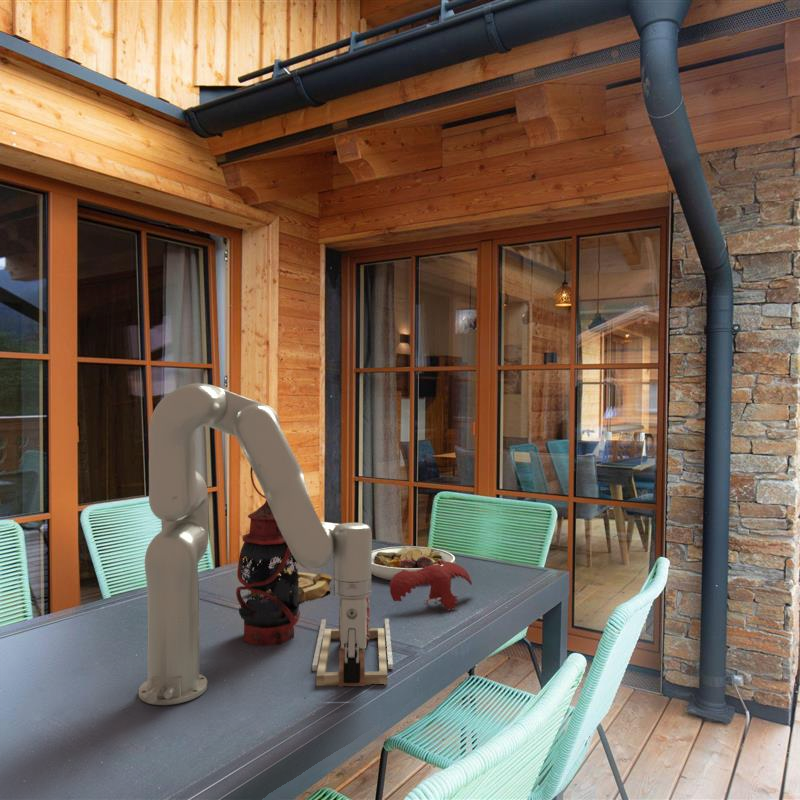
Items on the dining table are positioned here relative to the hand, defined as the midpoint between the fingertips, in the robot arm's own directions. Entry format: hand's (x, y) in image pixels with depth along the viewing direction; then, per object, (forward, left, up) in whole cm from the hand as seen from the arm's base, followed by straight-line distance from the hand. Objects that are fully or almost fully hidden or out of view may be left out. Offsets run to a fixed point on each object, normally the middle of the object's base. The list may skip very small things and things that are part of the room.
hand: (352, 677), depth 130 cm
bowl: (+84, -17, -2) cm, 86 cm away
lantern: (+26, +21, -2) cm, 33 cm away
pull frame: (+12, 0, -1) cm, 12 cm away
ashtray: (+63, +20, -2) cm, 66 cm away
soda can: (+20, 0, -2) cm, 20 cm away
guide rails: (+20, 0, -1) cm, 20 cm away
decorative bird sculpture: (+49, -22, -2) cm, 54 cm away
